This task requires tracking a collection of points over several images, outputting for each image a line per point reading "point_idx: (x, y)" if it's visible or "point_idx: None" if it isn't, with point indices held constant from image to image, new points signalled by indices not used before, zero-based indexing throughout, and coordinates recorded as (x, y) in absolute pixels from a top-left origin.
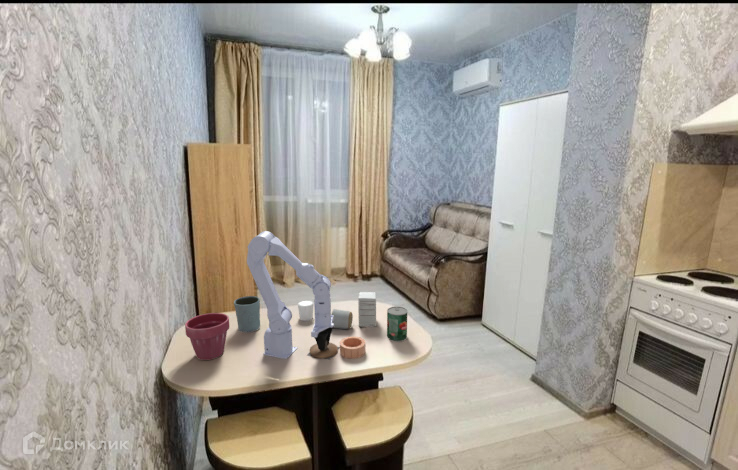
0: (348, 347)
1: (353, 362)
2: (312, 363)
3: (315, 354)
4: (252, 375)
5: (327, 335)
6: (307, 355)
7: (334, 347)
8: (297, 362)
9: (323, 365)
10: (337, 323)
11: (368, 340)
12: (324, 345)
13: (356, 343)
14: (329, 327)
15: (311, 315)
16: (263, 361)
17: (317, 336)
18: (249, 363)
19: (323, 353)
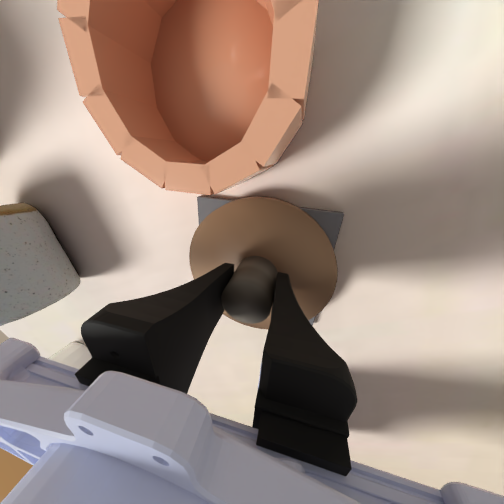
0: (286, 54)
1: (355, 11)
2: (377, 290)
3: (321, 299)
4: (471, 450)
5: (203, 306)
6: (312, 323)
7: (225, 224)
8: (369, 346)
9: (402, 233)
10: (40, 270)
11: (44, 36)
12: (290, 287)
13: (135, 71)
14: (151, 360)
15: (67, 355)
16: (365, 428)
17: (468, 487)
18: (380, 452)
19: (303, 265)
